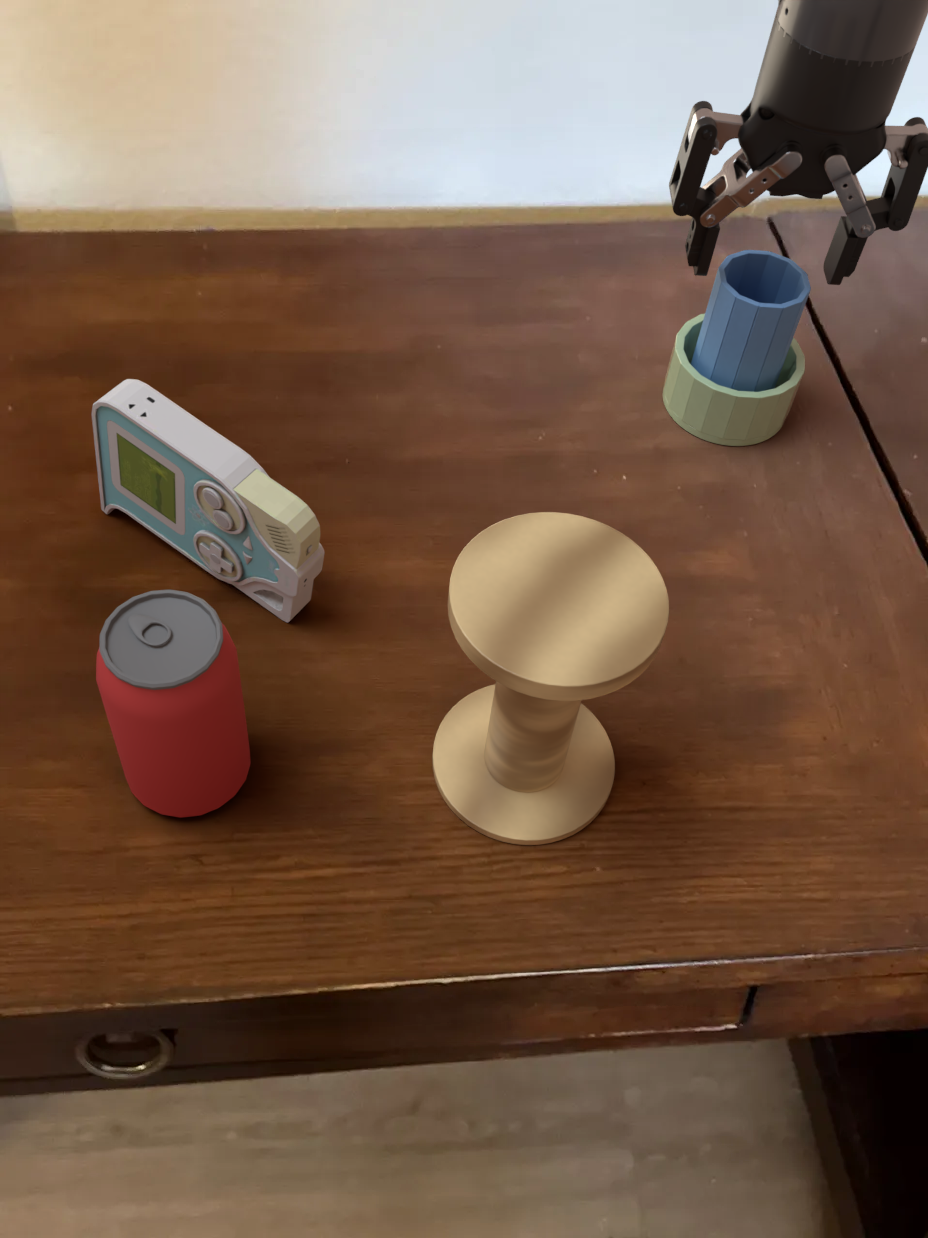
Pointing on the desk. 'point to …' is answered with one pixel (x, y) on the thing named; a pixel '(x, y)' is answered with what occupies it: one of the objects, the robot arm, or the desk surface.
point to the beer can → (174, 702)
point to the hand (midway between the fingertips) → (765, 272)
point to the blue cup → (750, 320)
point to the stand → (543, 671)
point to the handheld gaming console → (205, 497)
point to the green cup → (726, 396)
